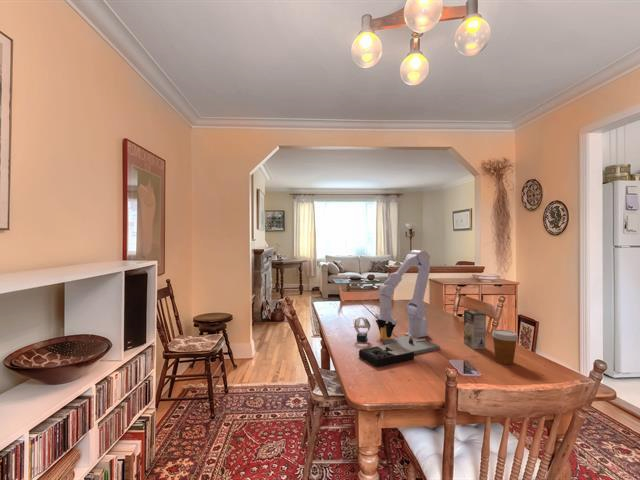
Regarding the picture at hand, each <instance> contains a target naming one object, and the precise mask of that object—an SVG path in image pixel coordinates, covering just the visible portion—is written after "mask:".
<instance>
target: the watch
mask: <svg viewBox="0 0 640 480" xmlns="http://www.w3.org/2000/svg"><path fill="white" fill-rule="evenodd" d="M355 319H356V321H357V320H358V319H360V320H362V321H363V324H365V327H366V328H367V331H360V329H359V328H357V327H358V326H357V325H356V321H355V320H354V323H353V324H354V325H353V328H354V330H355V331H356V342H358V343H359V342H362V343H366V342H367V340H368V333H369V331H370V329H371V324H370V323H371V322H370V321H369V319H368V318H365V317H361V316H360V317H357V318H355Z"/></svg>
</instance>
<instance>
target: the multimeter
mask: <svg viewBox="0 0 640 480" xmlns="http://www.w3.org/2000/svg"><path fill="white" fill-rule="evenodd" d="M358 358H360V359H361V360H363V361H365V362H367V363H369V364H370V365H372V366H374V367H375V368H377V369H378V368H383V367H387V366H391V365H396V364H401V363H406V362H410V361H414V360H415V354H414V352H413V351H410V350H408V349H406V348H404V347H401V346H399V345H397V344H394V343H392V344H387V345H386V344H381V345H377V346H371V347H367V348H360V349H359V350H358Z"/></svg>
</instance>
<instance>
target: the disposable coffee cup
mask: <svg viewBox="0 0 640 480" xmlns="http://www.w3.org/2000/svg"><path fill="white" fill-rule="evenodd" d="M491 336H492V340H493V342H492V343H493V348H494V356H495V361H496V362H497V363H499V364H503V365H513V364H514V361H515V353H516V348H517V342H518V341H517V340H518V339H519V336H518V334H517V333H516V331H512V330H508V329H507V330H506V329H494V330H493V331H492V332H491Z"/></svg>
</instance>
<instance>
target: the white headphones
mask: <svg viewBox="0 0 640 480" xmlns="http://www.w3.org/2000/svg"><path fill="white" fill-rule="evenodd" d="M356 319H358V318H355V319H353V320H352V323H353V324H350V327H352V328H354V323H355V321H356ZM356 325H357V328H358V329H361V328H364V327H366V326H365V324H364V323H361V319H358V320H357V321H356Z"/></svg>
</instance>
